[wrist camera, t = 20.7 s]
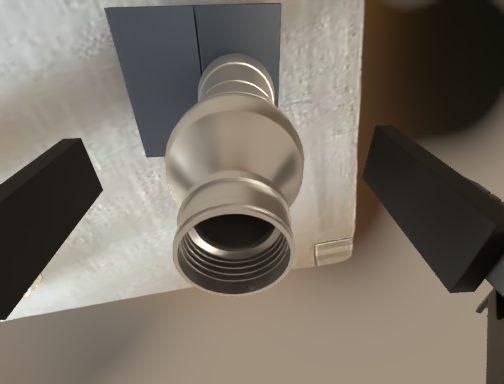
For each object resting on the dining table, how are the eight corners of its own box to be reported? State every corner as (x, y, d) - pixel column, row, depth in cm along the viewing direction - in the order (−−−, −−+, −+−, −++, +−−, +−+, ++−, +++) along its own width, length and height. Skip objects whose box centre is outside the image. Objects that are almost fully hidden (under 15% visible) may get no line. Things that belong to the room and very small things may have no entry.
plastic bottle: (274, 51, 22) (381, 154, 6) (268, 127, 26) (320, 320, 10) (199, 47, 22) (79, 146, 5) (203, 125, 26) (142, 323, 9)
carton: (169, 121, 37) (145, 157, 27) (145, 9, 29) (102, 7, 20) (267, 118, 37) (277, 152, 28) (268, 6, 30) (282, 2, 20)
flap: (147, 155, 28) (146, 157, 27) (105, 8, 20) (103, 8, 20) (211, 152, 28) (211, 154, 28) (193, 5, 21) (192, 5, 20)
